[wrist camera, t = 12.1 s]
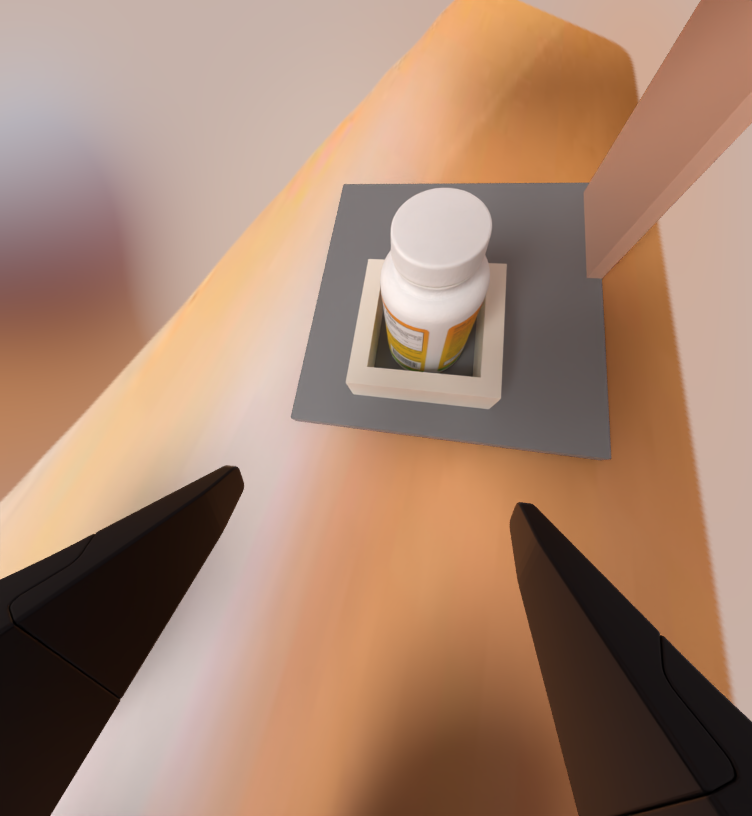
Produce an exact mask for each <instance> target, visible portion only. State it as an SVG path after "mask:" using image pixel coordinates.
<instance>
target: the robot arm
mask: <svg viewBox="0 0 752 816" xmlns="http://www.w3.org/2000/svg"><path fill="white" fill-rule="evenodd" d="M243 490H244V482H243V479H242V476H241V472H240V470H239V468H238V467H236V466H229V465H226V466H223V467H221V468H219V469H217V470H215V471H214V472H212V473H210V474H208V475H206V476H204V477H202V478H200V479H198V480H196V481H194V482H192V483H190V484H189V485H187V486H185V487H183V488H181V489H179V490H177V491H175V492H173V493H171V494H169V495H167V496H165V497H164V498H162V499H160V500H158V501H156V502H154V503H152V504H150V505H148V506H146V507H144V508H142V509H140V510H138V511H137V512H135V513H133V514H131V515H129V516H127V517H125V518H123V519H121V520H119V521H117V522H115V523H113V524H112V525H110V526H108V527H106V528H104V529H102V530H100V531H98V532H97V533H96V534H92V535H90V536H88V537H86V538H85V539H83V540H81V541H79V542H77V543H75V544H73V545H71V546H69V547H67V548H65V549H63V550H61V551H59V552H57V553H55V554H53V555H51V556H49V557H47V558H45V559H43V560H41V561H39V562H37V563H35V564H32V565H30V566H28V567H26V568H24V569H22V570H20V571H18V572H16V573H13V574H11V575H9V576H7V577H5V578H3V579H1V580H0V816H50V815H51V814H52V812H53V810H54V809H55V807H56V805H57V804H58V802H59V800H60V799H61V797H62V795H63V794H64V792H65V791H66V789H67V787H68V786H69V784H70V782H71V781H72V779H73V777H74V776H75V774H76V773H77V771H78V769H79V768H80V766H81V764H82V763H83V761H84V759H85V758H86V756H87V754H88V753H89V751H90V750H91V748H92V746H93V745H94V743H95V741H96V740H97V738H98V736H99V735H100V733H101V732H102V730H103V728H104V727H105V725H106V723H107V722H108V720H109V718H110V717H111V715H112V714H113V712H114V710H115V709H116V707H117V705H118V704H119V702H120V699H121V698H122V697H123V695H124V694H125V692H126V690H127V689H128V687H129V685H130V684H131V682H132V680H133V679H134V677H135V676H136V674H137V672H138V671H139V669H140V667H141V666H142V664H143V662H144V661H145V659H146V657H147V656H148V654H149V653H150V651H151V649H152V648H153V646H154V644H155V643H156V641H157V639H158V638H159V636H160V635H161V633H162V631H163V630H164V628H165V626H166V625H167V623H168V621H169V620H170V618H171V617H172V615H173V613H174V612H175V610H176V608H177V607H178V605H179V603H180V602H181V600H182V599H183V597H184V595H185V594H186V592H187V590H188V589H189V587H190V585H191V584H192V582H193V580H194V579H195V577H196V576H197V574H198V572H199V571H200V569H201V567H202V566H203V564H204V562H205V561H206V559H207V558H208V556H209V554H210V553H211V551H212V549H213V548H214V546H215V544H216V543H217V541H218V540H219V538H220V536H221V534H222V533H223V531H224V529H225V527H226V525H227V523H228V521H229V519H230V517H231V515H232V513H233V511H234V509H235V507H236V504H237V502H238V500H239V498H240V496H241V494H242V492H243ZM510 533H511V540H512V546H513V553H514V560H515V566H516V573H517V579H518V584H519V588H520V592H521V596H522V600H523V604H524V607H525V611H526V615H527V619H528V623H529V627H530V630H531V634H532V638H533V642H534V646H535V650H536V653H537V657H538V661H539V665H540V669H541V673H542V676H543V680H544V684H545V688H546V692H547V696H548V699H549V703H550V707H551V711H552V715H553V719H554V722H555V726H556V730H557V734H558V738H559V742H560V745H561V749H562V753H563V757H564V761H565V765H566V768H567V772H568V776H569V780H570V784H571V788H572V791H573V795H574V799H575V803H576V807H577V811H578V815H579V816H752V722H751V721H750V720H749V719H748V718H747V717H746V716H745V715H744V714H743V713H742V712H741V711H740V710H739V709H738V708H737V707H735V706H734V705H733V704H732V703H731V702H730V701H729V700H728V699H727V698H726V697H725V696H724V695H723V694H722V693H721V692H720V691H718V690H717V689H716V688H715V687H714V686H713V685H712V684H711V683H710V682H709V681H708V680H707V679H706V678H705V677H704V676H703V675H702V674H701V673H700V672H699V671H698V670H697V669H696V668H695V667H694V666H693V665H692V664H691V663H690V662H689V661H688V660H687V659H686V658H685V657H684V656H683V655H682V654H681V653H680V652H679V651H678V650H677V649H676V648H675V647H674V646H673V645H672V644H671V643H670V642H669V641H668V640H667V639H666V638H665V637H664V636H662V635H660V633H659V631H658V630H657V629H656V628H655V627H654V626H653V625H652V624H651V623H650V622H649V621H648V620H647V619H646V618H645V617H644V616H643V615H642V614H641V613H640V612H639V611H638V610H637V609H636V608H635V607H634V606H633V605H632V604H631V603H630V602H629V601H628V600H627V599H626V598H625V597H624V596H623V595H622V594H621V593H620V592H619V590H618V589H617V588H616V587H615V586H614V585H613V584H612V583H611V582H610V581H609V580H608V579H607V578H606V577H605V576H604V575H603V574H602V573H601V572H600V571H599V570H598V569H597V568H596V567H595V566H594V565H593V564H592V563H591V562H590V561H589V560H588V559H587V558H586V557H585V556H584V555H583V554H582V553H581V552H580V551H579V550H578V549H577V548H576V547H575V546H574V545H573V544H572V543H571V542H570V541H569V540H568V539H567V538H566V537H565V536H564V535H563V534H562V533H561V532H560V531H559V530H558V529H557V528H556V527H555V526H554V525H553V524H552V523H551V522H550V521H549V520H548V519H547V518H546V517H545V516H544V515H543V514H542V513H541V511H540V510H539V509H538V508H537V507H536V506H534V505H533V504H530V503H522V502H518V503H517V504H516V506H515V508H514V511H513V514H512V516H511V519H510Z"/></svg>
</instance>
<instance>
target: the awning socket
mask: <svg viewBox="0 0 752 816" xmlns="http://www.w3.org/2000/svg"><path fill="white" fill-rule="evenodd" d="M751 123H752V0H701V1H700V2H699V4H698V6H697V7H696V9H695V10H694V12H693V14H692V16H691V17H690V19H689V20H688V22H687V24H686V25H685V27H684V29H683V30H682V32H681V33H680V35H679V37H678V38H677V40H676V42H675V43H674V45H673V47H672V48H671V50H670V52H669V53H668V55H667V57H666V58H665V60H664V61H663V63H662V65H661V66H660V68H659V70H658V71H657V73H656V75H655V76H654V78H653V79H652V81H651V83H650V84H649V86H648V88H647V89H646V91H645V93H644V94H643V96H642V97H641V99H640V101H639V102H638V104H637V106H636V107H635V109H634V111H633V112H632V114H631V116H630V117H629V119H628V120H627V122H626V124H625V125H624V127H623V129H622V130H621V132H620V134H619V135H618V137H617V138H616V140H615V142H614V143H613V145H612V147H611V148H610V150H609V152H608V153H607V155H606V157H605V158H604V160H603V161H602V163H601V165H600V166H599V168H598V170H597V171H596V173H595V175H594V176H593V178H592V180H591V181H590V183H478V184H344V185H343V189H342V194H341V198H340V202H339V207H338V211H337V216H336V220H335V225H334V229H333V233H332V238H331V242H330V247H329V251H328V255H327V260H326V264H325V269H324V273H323V277H322V282H321V286H320V291H319V295H318V300H317V304H316V308H315V313H314V317H313V322H312V326H311V330H310V335H309V339H308V344H307V348H306V352H305V357H304V361H303V366H302V370H301V374H300V379H299V383H298V388H297V392H296V397H295V401H294V405H293V410H292V414H291V418H292V419H294V420H296V421H302V422H309V423H317V424H325V425H333V426H340V427H348V428H356V429H363V430H371V431H379V432H386V433H394V434H402V435H410V436H417V437H425V438H433V439H440V440H448V441H456V442H464V443H471V444H479V445H487V446H494V447H502V448H510V449H517V450H525V451H533V452H541V453H548V454H556V455H564V456H571V457H579V458H587V459H594V460H608V459H611V445H610V426H609V406H608V387H607V368H606V348H605V329H604V310H603V290H602V278H603V277H604V276H605V275H606V274H607V273H608V272H609V271H610V270H611V269H612V268H613V267H614V265H615V264H616V263H617V262H618V261H619V260H620V259H621V258H622V257H623V256H624V255H625V254H626V253H627V252H628V251H629V250H630V249H631V248H632V247H633V246H634V245H635V244H636V243H637V242H638V241H639V239H640V238H641V237H642V236H643V235H644V234H645V233H646V232H647V231H648V230H649V229H650V228H651V227H652V226H653V225H654V224H655V223H656V222H657V221H658V220H659V219H660V218H661V216H663V214H664V213H665V212H666V211H667V210H668V209H669V208H670V207H671V206H672V205H673V204H674V203H675V202H676V201H677V200H678V199H679V198H680V197H681V196H682V195H683V194H684V193H685V192H686V191H687V190H688V189H689V188H690V186H691V185H692V184H693V183H694V182H695V181H696V180H697V179H698V178H699V177H700V176H701V175H702V174H703V173H704V172H705V171H706V170H707V169H708V168H709V167H710V166H711V165H712V164H713V163H714V162H715V160H716V159H717V158H718V157H719V156H720V155H721V154H722V153H723V152H724V151H725V150H726V149H727V148H728V147H729V146H730V145H731V144H732V143H733V142H734V141H735V140H736V139H737V138H738V137H739V136H740V135H741V134H742V132H743V131H744V130H745V129H746V128H747V127H748V126H749V125H750V124H751ZM435 188H455V189H459V190H464V191H466V192H469V193H471V194H473V195H474V196H476V197H477V198H479V199H480V200H481V201H482V202H483V203H484V204H485V206H486V207H487V208H488V210H489V213H490V215H491V219H492V232H491V237H490V240H489V243H488V246H487V250H486V253H485V256H486V258H487V260H488V263H489V268H490V282H489V287H488V290H487V293H486V296H485V299H484V301H483V304H482V306H481V308H480V310H479V313H478V315H477V317H476V320H475V322H474V324H473V327H472V329H471V331H470V334H469V336H468V339H467V341H466V343H465V346H464V348H463V351H462V353H461V355H460V356H459V358H458V359H457V361H456V362H455V363H454V364H453V365H452V366H450V367H449V368H448V369H446V370H444V371H442V372H440V373H427V372H417V371H407V370H405V369H404V368H402V367H401V366H400V365H399V364H398V363H397V362H396V361H395V359H394V358H393V356H392V354H391V351H390V348H389V343H388V336H387V329H386V322H385V315H384V308H383V301H382V295H381V286H380V275H381V269H382V266H383V263H384V261H385V258H386V257H387V255H388V253H389V252H390V250H391V224H392V220H393V218H394V216H395V214H396V212H397V211H398V209H399V208H400V207H401V206H402V205H403V204H404V203H405V202H406V201H407V200H408V199H410V198H411V197H413V196H415V195H416V194H419V193H421V192H423V191H426V190H430V189H435Z"/></svg>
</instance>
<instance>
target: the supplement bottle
mask: <svg viewBox="0 0 752 816" xmlns="http://www.w3.org/2000/svg"><path fill="white" fill-rule="evenodd" d="M491 232H492V219H491V215H490V213H489V210H488V208H487V207H486V206H485V204H484V203H483V202H482V201H481V200H480V199H479V198H477V197H476V196H474V195H473V194H471V193H469V192H466V191H464V190H459V189H455V188H435V189H430V190H426V191H423V192H421V193H419V194H416V195H415V196H413V197H411V198H410V199H408V200H407V201H406V202H405V203H404V204H403V205H402V206H401V207H400V208H399V209H398V211H397V212H396V214H395V216H394V218H393V220H392V224H391V250H390V252H389V253H388V255H387V257H386V258H385V261H384V263H383V266H382V269H381V275H380V286H381V295H382V301H383V308H384V315H385V322H386V329H387V336H388V343H389V348H390V351H391V354H392V356H393V358H394V359H395V361H396V362H397V363H398V364H399V365H400V366H401V367H402V368H404V369H405V370H407V371H417V372H427V373H440V372H442V371H444V370H446V369H448V368H449V367H450V366H452V365H453V364H454V363H455V362H456V361H457V359H458V358H459V356H460V355H461V353H462V351H463V348H464V346H465V343H466V341H467V339H468V336H469V334H470V331H471V329H472V327H473V324H474V322H475V320H476V317H477V315H478V313H479V310H480V308H481V306H482V304H483V301H484V299H485V296H486V293H487V290H488V287H489V282H490V268H489V263H488V260H487V258H486V256H485V253H486V250H487V246H488V243H489V240H490V237H491Z"/></svg>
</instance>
